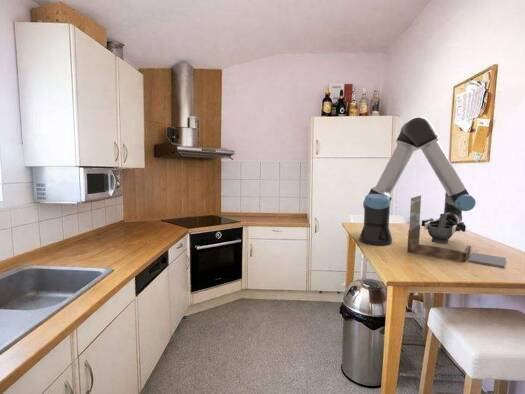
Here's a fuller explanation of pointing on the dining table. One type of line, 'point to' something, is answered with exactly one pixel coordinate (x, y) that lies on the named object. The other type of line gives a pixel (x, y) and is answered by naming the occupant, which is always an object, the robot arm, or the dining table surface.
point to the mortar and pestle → (440, 231)
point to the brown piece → (424, 249)
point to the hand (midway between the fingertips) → (439, 228)
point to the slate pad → (487, 260)
